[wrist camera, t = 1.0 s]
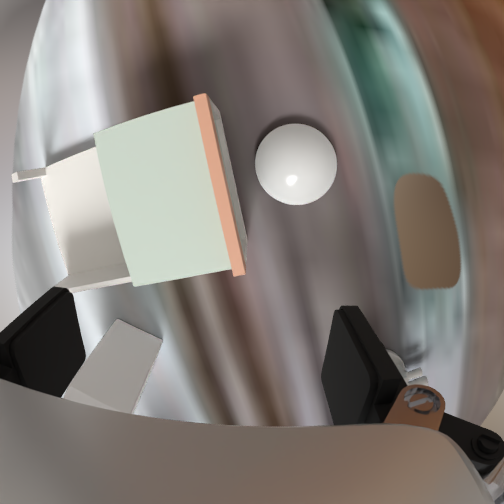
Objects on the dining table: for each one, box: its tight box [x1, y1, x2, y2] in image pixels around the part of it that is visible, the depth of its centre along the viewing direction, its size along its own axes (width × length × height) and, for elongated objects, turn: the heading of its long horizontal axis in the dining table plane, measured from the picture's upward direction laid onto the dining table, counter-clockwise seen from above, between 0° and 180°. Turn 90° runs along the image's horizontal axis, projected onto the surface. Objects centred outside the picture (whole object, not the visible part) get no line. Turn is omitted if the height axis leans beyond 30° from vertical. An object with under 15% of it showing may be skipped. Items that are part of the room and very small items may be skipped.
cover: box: [94, 93, 246, 287], centre depth 26 cm, size 11×15×3 cm
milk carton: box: [64, 319, 163, 414], centre depth 33 cm, size 7×7×19 cm
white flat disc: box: [255, 124, 337, 205], centre depth 34 cm, size 9×9×1 cm
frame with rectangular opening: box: [12, 101, 248, 293], centre depth 32 cm, size 24×15×7 cm, turn 102°
